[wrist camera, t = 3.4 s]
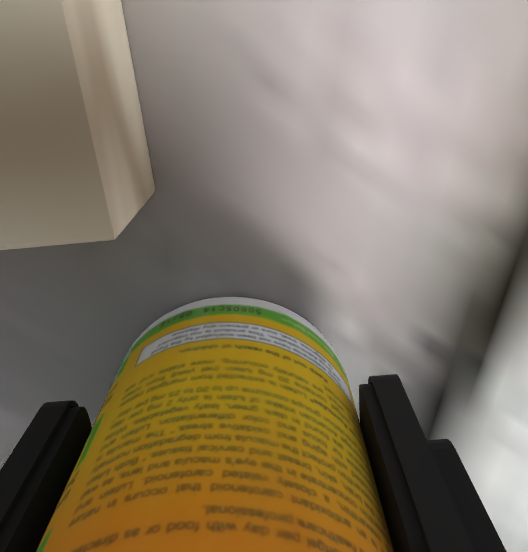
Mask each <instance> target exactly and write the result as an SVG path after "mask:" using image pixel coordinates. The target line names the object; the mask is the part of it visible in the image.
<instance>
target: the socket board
mask: <svg viewBox="0 0 528 552" xmlns="http://www.w3.org/2000/svg"><path fill="white" fill-rule="evenodd" d="M155 191H156V190H155V184H154V179H153V173H152V168H151V162H150V157H149V151H148V146H147V140H146V135H145V130H144V124H143V119H142V113H141V108H140V102H139V97H138V91H137V86H136V80H135V75H134V69H133V64H132V58H131V53H130V47H129V42H128V36H127V31H126V25H125V20H124V14H123V9H122V3H121V0H0V250H9V249H20V248H31V247H42V246H53V245H64V244H75V243H86V242H97V241H108V240H115V239H116V238H117V237H118V236H119V234H120V233H121V232H122V231H123V230H124V228H125V227H126V226H127V225H128V224H129V222H130V221H131V220H132V219H133V218H134V216H135V215H136V214H137V213H138V212H139V210H140V209H141V208H142V207H143V206H144V204H145V203H146V202H147V201H148V200H149V198H150V197H151V196H152V195H153V194H154V192H155Z"/></svg>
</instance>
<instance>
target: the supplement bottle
mask: <svg viewBox="0 0 528 552" xmlns="http://www.w3.org/2000/svg"><path fill="white" fill-rule="evenodd" d="M36 552H394V549H393V545H392V541H391V538H390V534H389V530H388V527H387V523H386V520H385V516H384V512H383V509H382V505H381V501H380V498H379V494H378V490H377V486H376V483H375V479H374V475H373V471H372V468H371V464H370V460H369V456H368V453H367V449H366V445H365V441H364V438H363V434H362V431H361V427H360V423H359V418H358V415H357V412H356V408H355V404H354V400H353V396H352V393H351V390H350V387H349V383H348V380H347V377H346V374H345V371H344V368H343V366H342V363H341V361H340V359H339V357H338V355H337V354H336V352H335V350H334V349H333V347H332V346H331V344H330V343H329V342H328V341H327V340H326V338H325V337H324V336H323V335H322V334H321V333H320V332H319V331H318V330H317V329H316V328H315V327H314V326H313V325H312V324H311V323H309V322H308V321H307V320H305V319H304V318H302V317H301V316H299V315H298V314H296V313H294V312H292V311H290V310H288V309H286V308H284V307H282V306H279V305H276V304H274V303H271V302H267V301H264V300H258V299H253V298H245V297H217V298H209V299H204V300H199V301H195V302H192V303H189V304H186V305H184V306H181V307H179V308H177V309H175V310H173V311H171V312H169V313H167V314H165V315H163V316H162V317H160V318H159V319H157V320H156V321H155V322H154V323H152V324H151V325H150V326H149V327H148V328H147V329H146V330H144V331H143V332H142V334H141V335H140V336H139V337H138V338H137V339H136V340H135V342H134V343H133V345H132V346H131V348H130V349H129V351H128V353H127V354H126V356H125V358H124V360H123V362H122V364H121V366H120V368H119V370H118V372H117V374H116V376H115V379H114V381H113V383H112V385H111V388H110V390H109V393H108V395H107V397H106V399H105V401H104V404H103V406H102V408H101V410H100V412H99V415H98V417H97V419H96V421H95V424H94V426H93V428H92V430H91V433H90V435H89V437H88V439H87V441H86V444H85V446H84V448H83V450H82V453H81V455H80V457H79V460H78V462H77V464H76V466H75V468H74V470H73V472H72V474H71V477H70V479H69V481H68V483H67V485H66V487H65V490H64V492H63V494H62V496H61V498H60V501H59V503H58V505H57V507H56V509H55V512H54V514H53V516H52V518H51V520H50V522H49V525H48V527H47V529H46V531H45V533H44V536H43V538H42V540H41V542H40V544H39V547H38V549H37V551H36Z"/></svg>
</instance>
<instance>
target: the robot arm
mask: <svg viewBox="0 0 528 552" xmlns="http://www.w3.org/2000/svg"><path fill="white" fill-rule="evenodd" d="M359 410H360V427H361V431H362V434H363V438H364V441H365V445H366V449H367V453H368V456H369V460H370V464H371V468H372V471H373V475H374V479H375V483H376V486H377V490H378V494H379V498H380V501H381V505H382V509H383V512H384V516H385V520H386V523H387V527H388V530H389V534H390V538H391V541H392V545H393V549H394V552H506V550H505V548H504V546H503V544H502V542H501V540H500V538H499V536H498V534H497V532H496V530H495V528H494V526H493V524H492V522H491V520H490V518H489V516H488V514H487V512H486V510H485V508H484V506H483V504H482V502H481V500H480V498H479V496H478V494H477V492H476V490H475V488H474V486H473V484H472V482H471V480H470V478H469V476H468V474H467V472H466V470H465V468H464V466H463V464H462V462H461V460H460V458H459V456H458V454H457V452H456V450H455V448H454V446H453V444H452V443H451V441H449V440H448V439H440V440H426V438H425V436H424V433H423V431H422V429H421V427H420V424H419V422H418V420H417V417H416V415H415V413H414V410H413V408H412V406H411V404H410V401H409V399H408V397H407V394H406V392H405V390H404V387H403V385H402V383H401V381H400V378H399V376H398V375H397V374H394V375H381V376H370V377H369V380H368V384H361V385H359ZM91 430H92V426H91V423H90V419H89V416H88V413H87V410H86V409H85V407H79V406H78V404H77V403H76V402H75V401H73V400H71V401H59V402H47V403H44V404H43V405H42V406H41V408H40V409H39V411H38V413H37V414H36V416H35V417H34V419H33V420H32V422H31V423H30V425H29V427H28V428H27V430H26V431H25V433H24V434H23V436H22V438H21V439H20V441H19V442H18V444H17V445H16V447H15V448H14V450H13V452H12V453H11V455H10V456H9V458H8V459H7V461H6V463H5V464H4V466H3V467H2V469H1V470H0V552H36V551H37V549H38V547H39V544H40V542H41V540H42V538H43V536H44V533H45V531H46V529H47V527H48V525H49V522H50V520H51V518H52V516H53V514H54V512H55V509H56V507H57V505H58V503H59V501H60V498H61V496H62V494H63V492H64V490H65V487H66V485H67V483H68V481H69V479H70V477H71V474H72V472H73V470H74V468H75V466H76V464H77V462H78V460H79V457H80V455H81V453H82V450H83V448H84V446H85V444H86V441H87V439H88V437H89V435H90V433H91Z"/></svg>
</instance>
